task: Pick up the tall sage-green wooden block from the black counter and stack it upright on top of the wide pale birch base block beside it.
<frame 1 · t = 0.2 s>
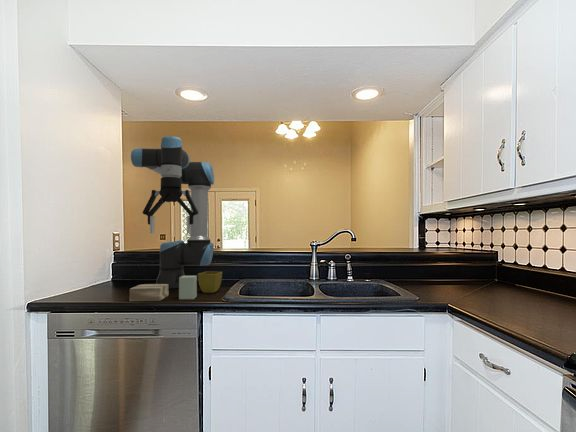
hand: (170, 233, 129), 27 cm above the counter, tool pointing down, fingers open, 13 cm apart
sage block: (188, 297, 145), on the counter
flower pot: (210, 292, 158), on the counter
base block: (149, 298, 144), on the counter
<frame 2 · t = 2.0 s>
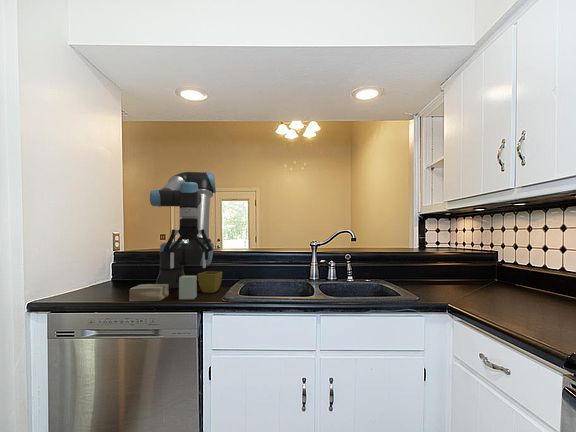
hand: (188, 268, 145), 13 cm above the counter, tool pointing down, fingers open, 13 cm apart
nothing on the counter moved.
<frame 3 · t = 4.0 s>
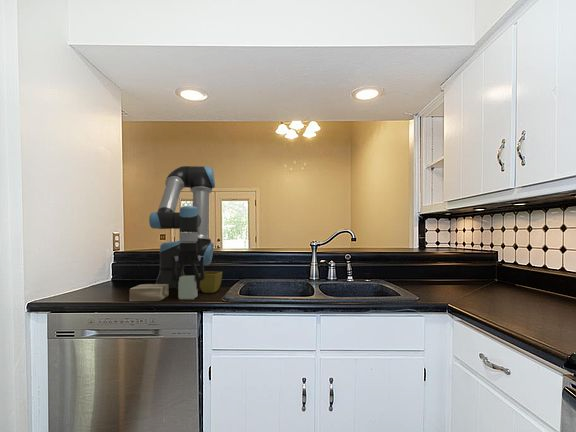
hand: (188, 296, 145), 0 cm above the counter, tool pointing down, fingers closed on sage block, 6 cm apart
sage block: (188, 297, 145), on the counter, touching gripper
everything else where it was.
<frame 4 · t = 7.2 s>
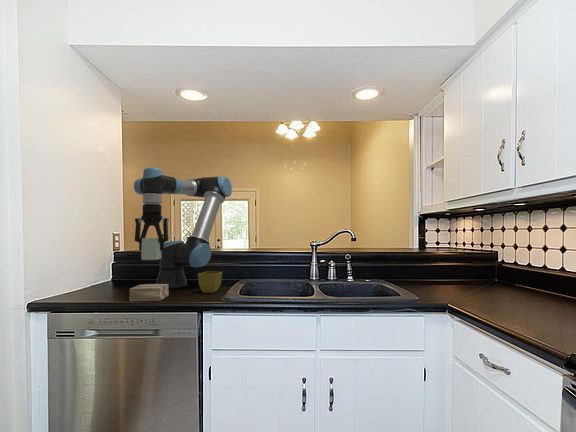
hand: (151, 258, 145), 17 cm above the counter, tool pointing down, fingers closed on sage block, 6 cm apart
sage block: (151, 259, 145), point 16 cm above the counter, touching gripper
everything else where it was.
when the fingers open (6 cm above the counter, at t = 10.4 s): sage block stays where it is, resting on base block.
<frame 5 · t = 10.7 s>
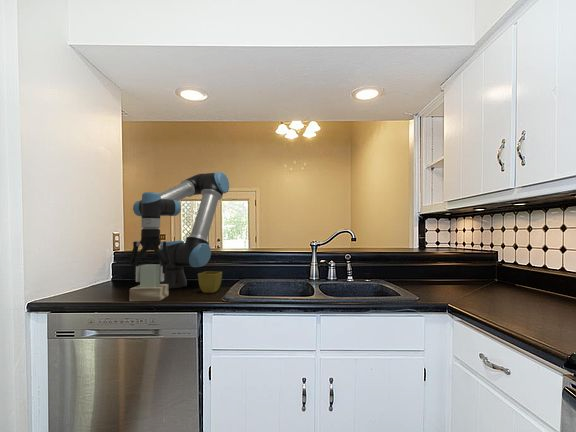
hand: (150, 281, 144), 7 cm above the counter, tool pointing down, fingers open, 9 cm apart
sage block: (149, 286, 144), point 5 cm above the counter, touching base block
everything else where it was.
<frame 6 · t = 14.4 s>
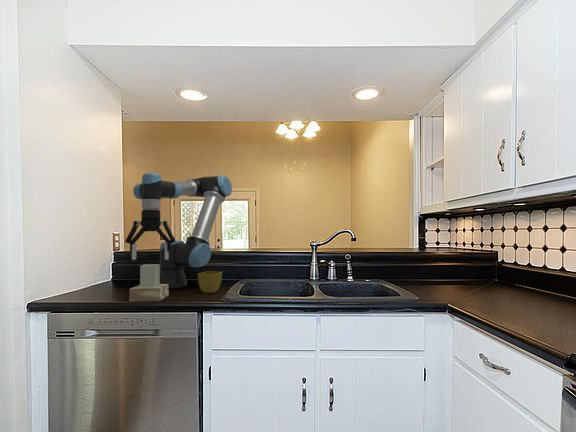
hand: (150, 259, 145), 16 cm above the counter, tool pointing down, fingers open, 13 cm apart
nothing on the counter moved.
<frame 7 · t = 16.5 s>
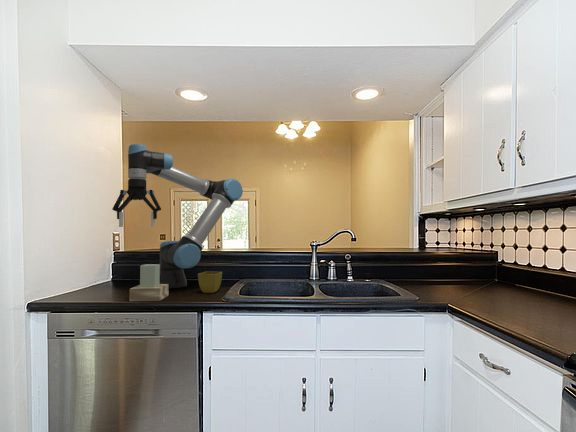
hand: (137, 226, 152), 30 cm above the counter, tool pointing down, fingers open, 13 cm apart
nothing on the counter moved.
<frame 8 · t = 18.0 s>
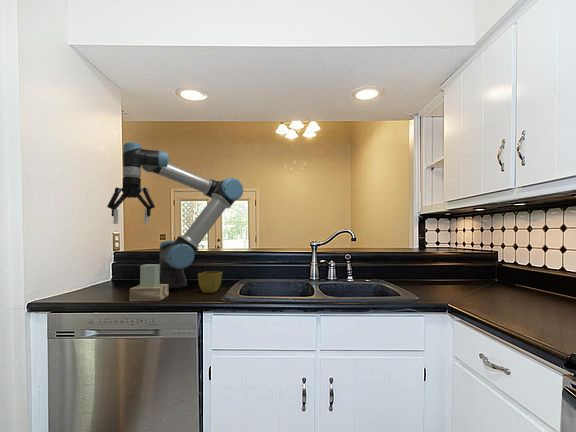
hand: (131, 223, 154), 32 cm above the counter, tool pointing down, fingers open, 13 cm apart
nothing on the counter moved.
at the end: sage block inside the target area on the base block (0.1 cm from its centre), point 5.0 cm above the base block's base; sage block tilted 0°; the gripper is holding nothing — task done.
